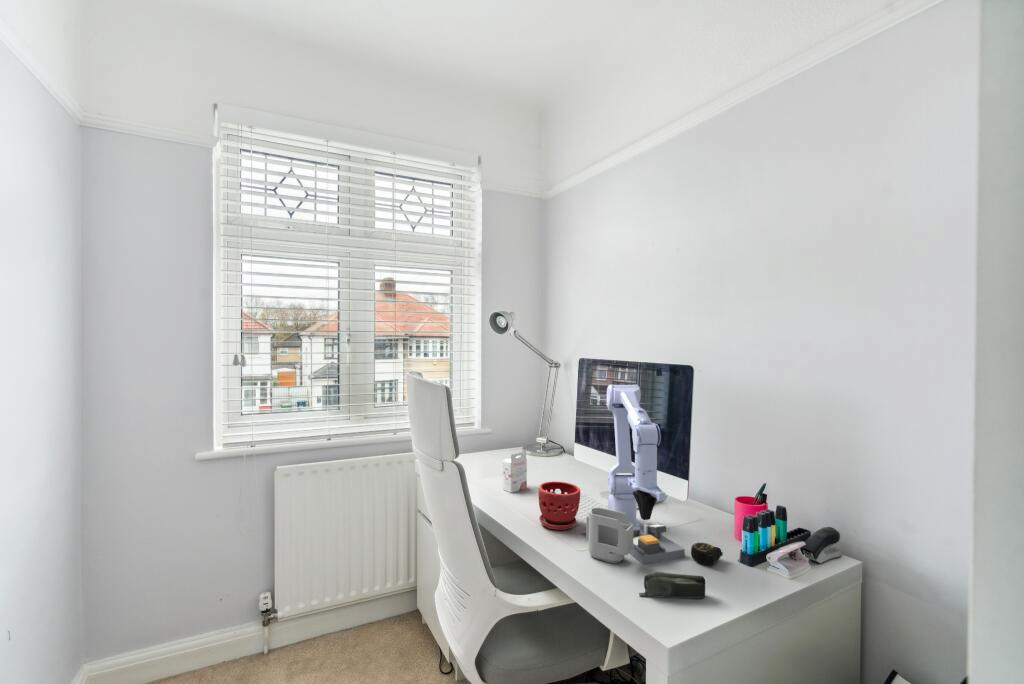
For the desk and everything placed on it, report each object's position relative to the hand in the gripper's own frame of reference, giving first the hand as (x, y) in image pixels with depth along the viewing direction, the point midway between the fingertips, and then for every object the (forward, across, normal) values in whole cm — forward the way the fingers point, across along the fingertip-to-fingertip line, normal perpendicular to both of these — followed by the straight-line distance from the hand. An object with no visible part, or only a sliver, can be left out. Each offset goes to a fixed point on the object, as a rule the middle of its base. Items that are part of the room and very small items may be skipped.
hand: (645, 518), depth 126 cm
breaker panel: (+10, -5, +3) cm, 11 cm away
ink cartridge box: (+10, -64, -16) cm, 66 cm away
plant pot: (+10, -27, -14) cm, 31 cm away
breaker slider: (+8, +1, 0) cm, 8 cm away
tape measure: (+10, +8, +14) cm, 19 cm away
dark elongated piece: (+10, +19, -6) cm, 22 cm away
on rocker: (+6, -7, +7) cm, 11 cm away
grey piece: (+10, -1, -10) cm, 14 cm away
